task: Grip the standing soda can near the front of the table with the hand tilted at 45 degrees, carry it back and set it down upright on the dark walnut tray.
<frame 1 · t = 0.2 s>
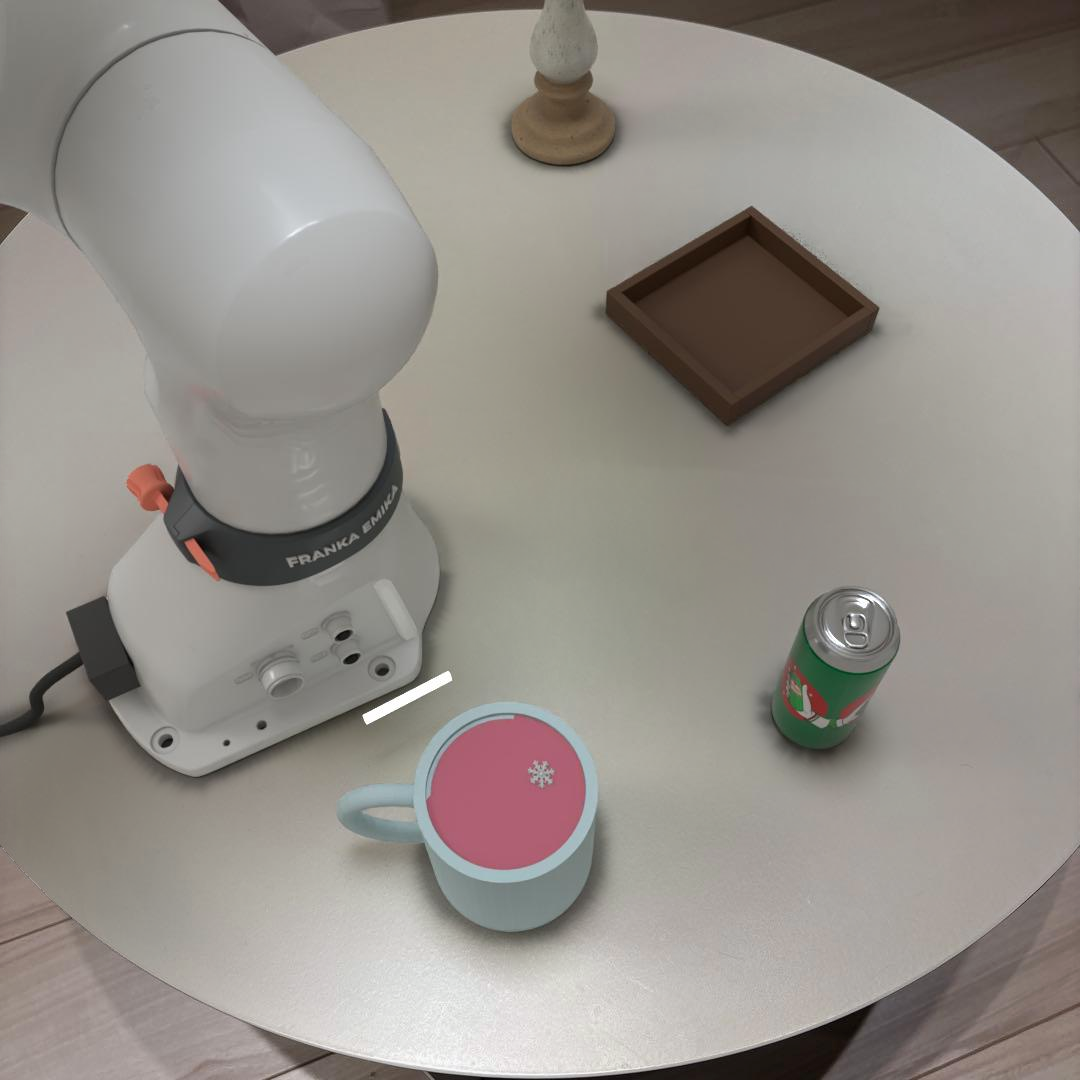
soda can: (811, 714, 69), on the table
candle holder: (563, 133, 97), on the table
mug: (472, 847, 65), on the table
tray: (737, 321, 86), on the table
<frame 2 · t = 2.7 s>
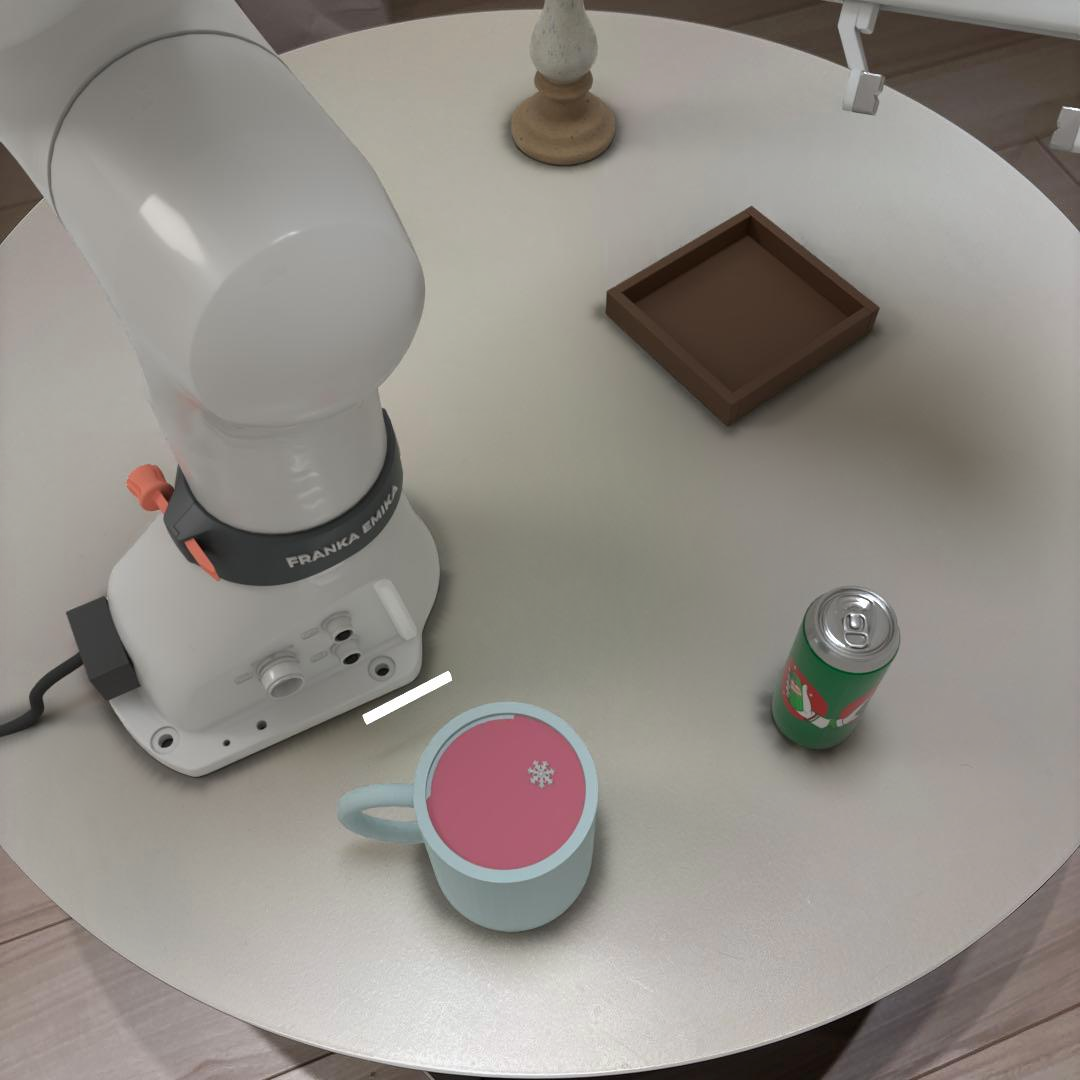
hand: (959, 131, 53), 29 cm above the table, tool tilted 35°, fingers open, 8 cm apart
nothing on the table moved.
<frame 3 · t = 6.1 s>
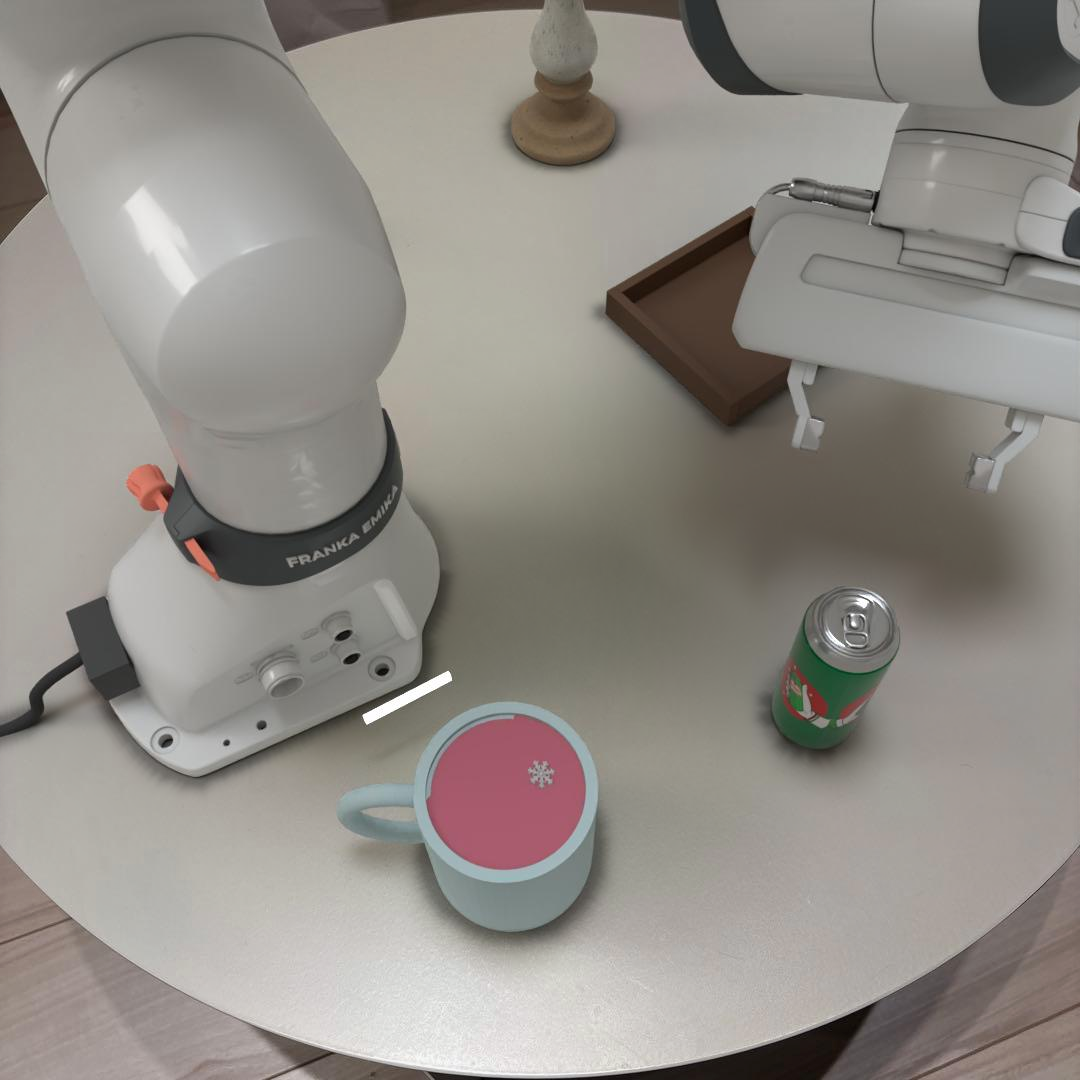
hand: (890, 469, 62), 14 cm above the table, tool tilted 45°, fingers open, 8 cm apart
nothing on the table moved.
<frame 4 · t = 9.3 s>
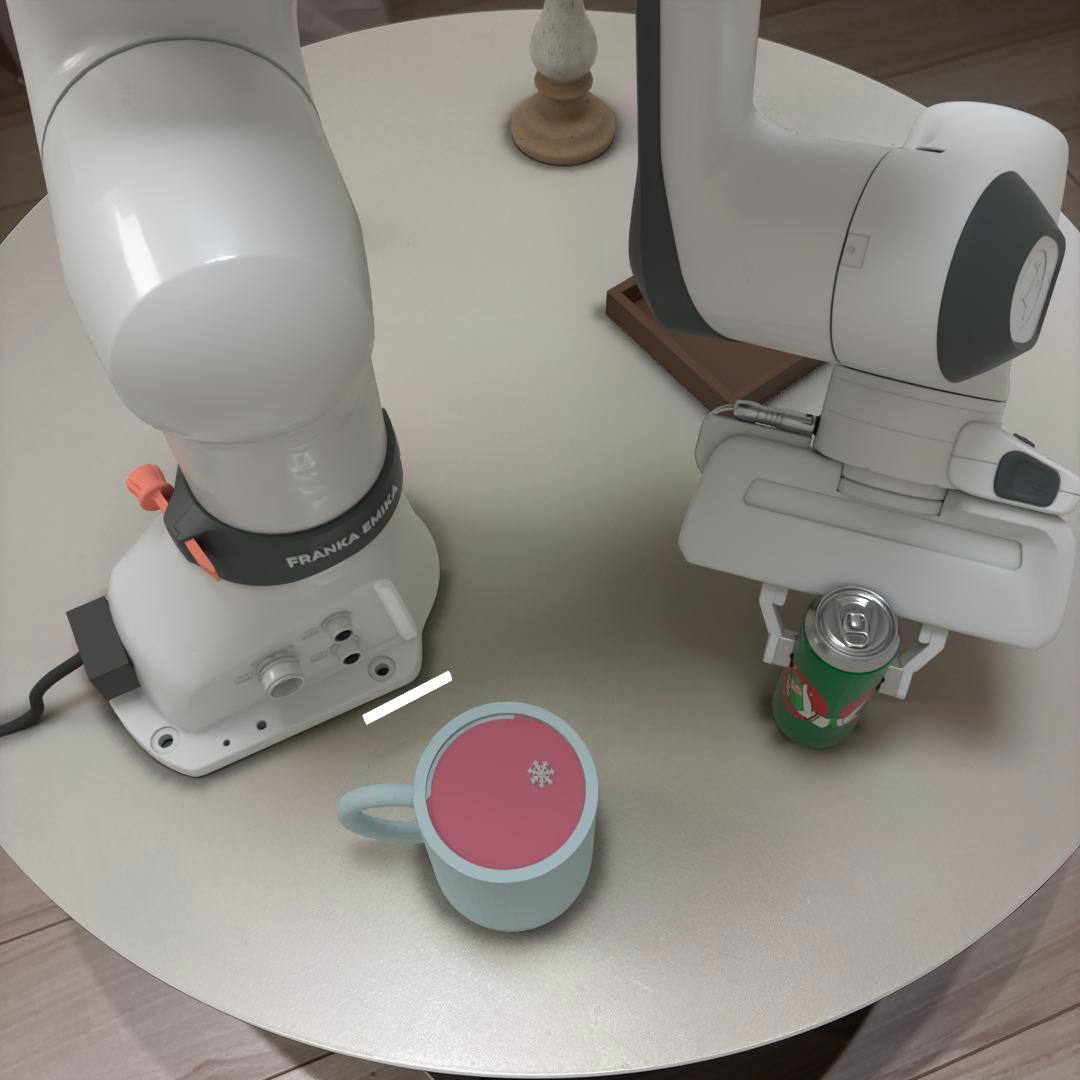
hand: (832, 677, 63), 6 cm above the table, tool tilted 45°, fingers closed on soda can, 5 cm apart
soda can: (811, 714, 69), on the table, touching gripper
everything else where it was.
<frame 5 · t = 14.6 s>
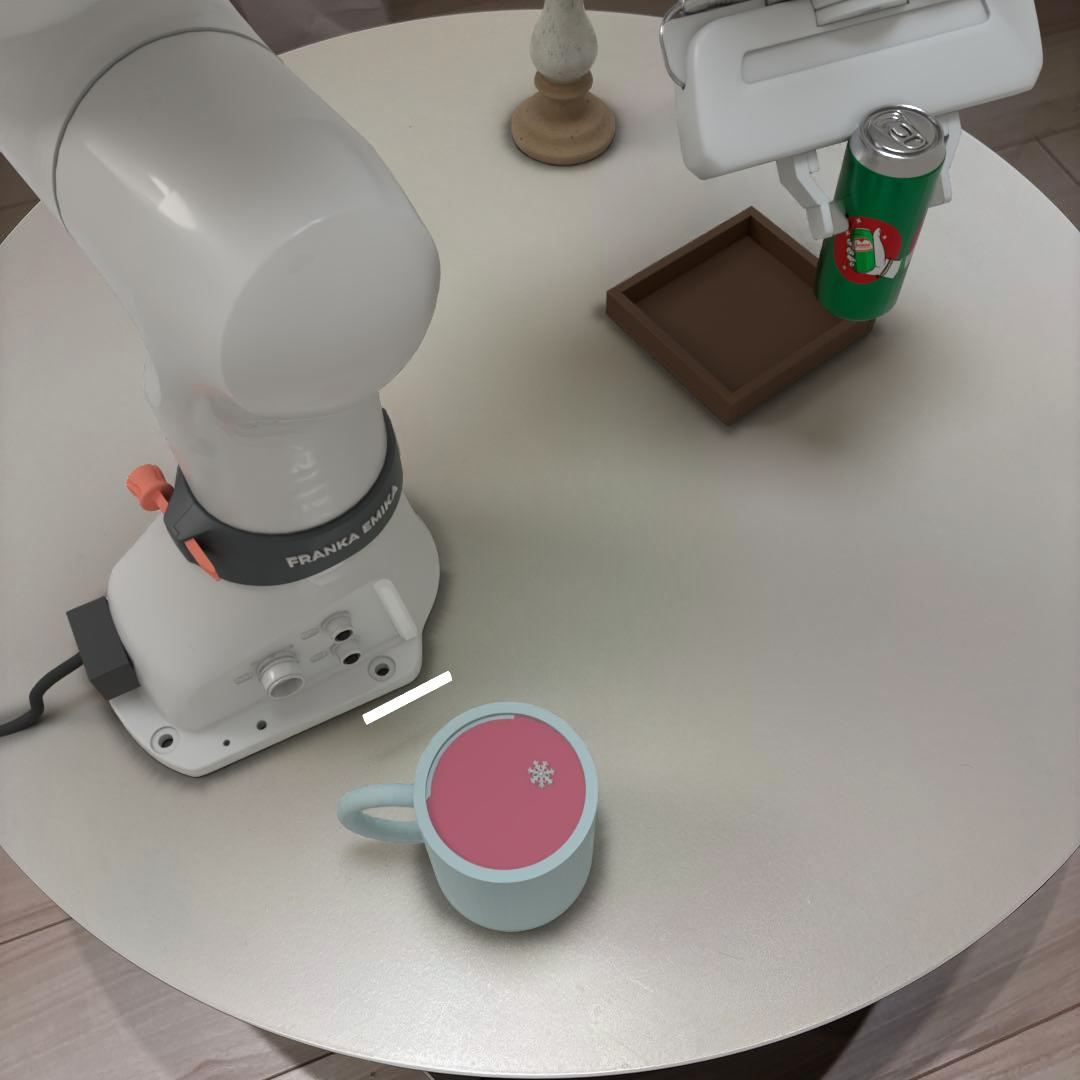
hand: (883, 221, 63), 20 cm above the table, tool tilted 45°, fingers closed on soda can, 5 cm apart
soda can: (852, 298, 69), point 13 cm above the table, touching gripper
everything else where it was.
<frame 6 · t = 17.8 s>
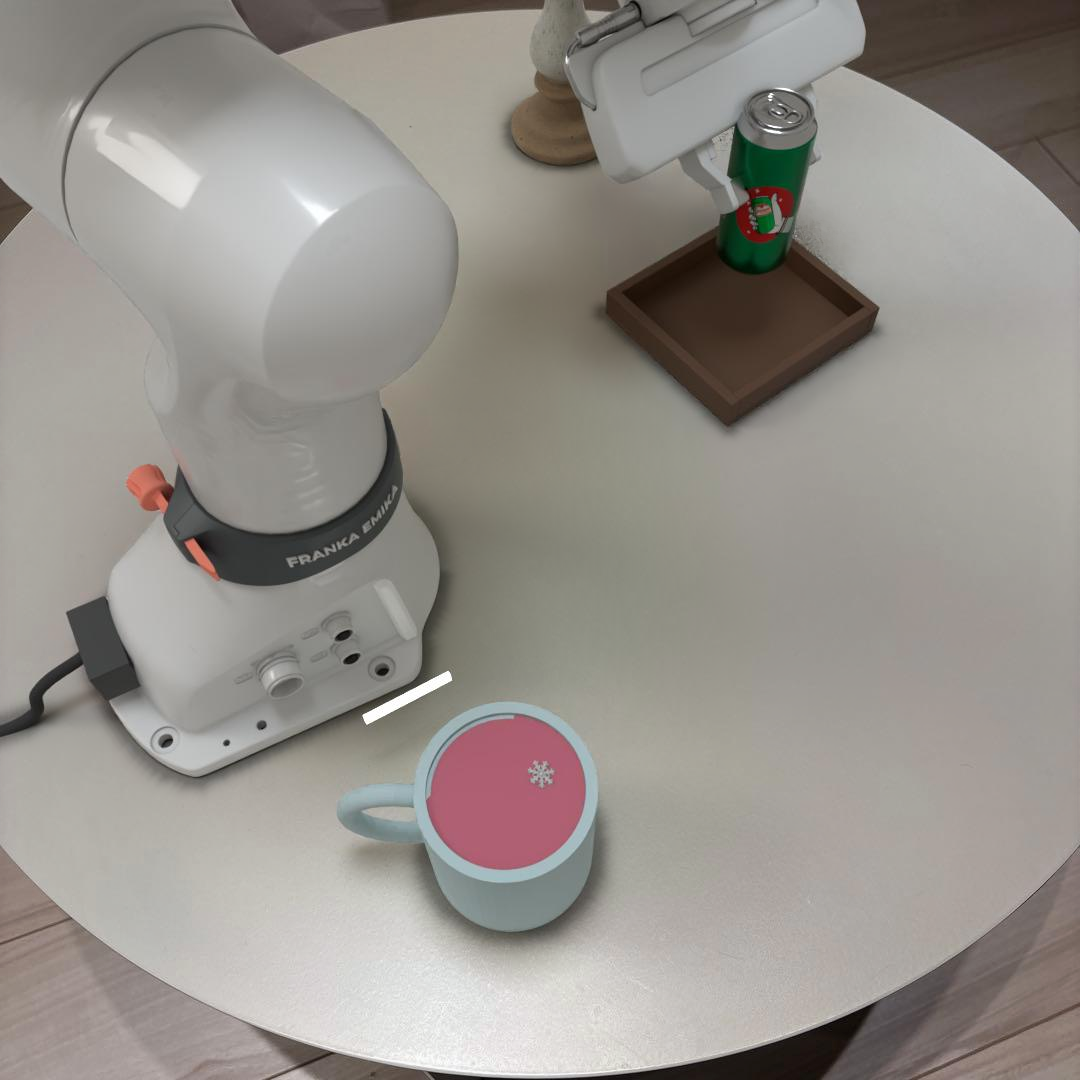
hand: (772, 186, 74), 13 cm above the table, tool tilted 45°, fingers closed on soda can, 5 cm apart
soda can: (750, 255, 80), point 7 cm above the table, touching gripper
everything else where it was.
when the fingers open (7 cm above the table, at t = 20.1 s): soda can stays where it is, resting on tray.
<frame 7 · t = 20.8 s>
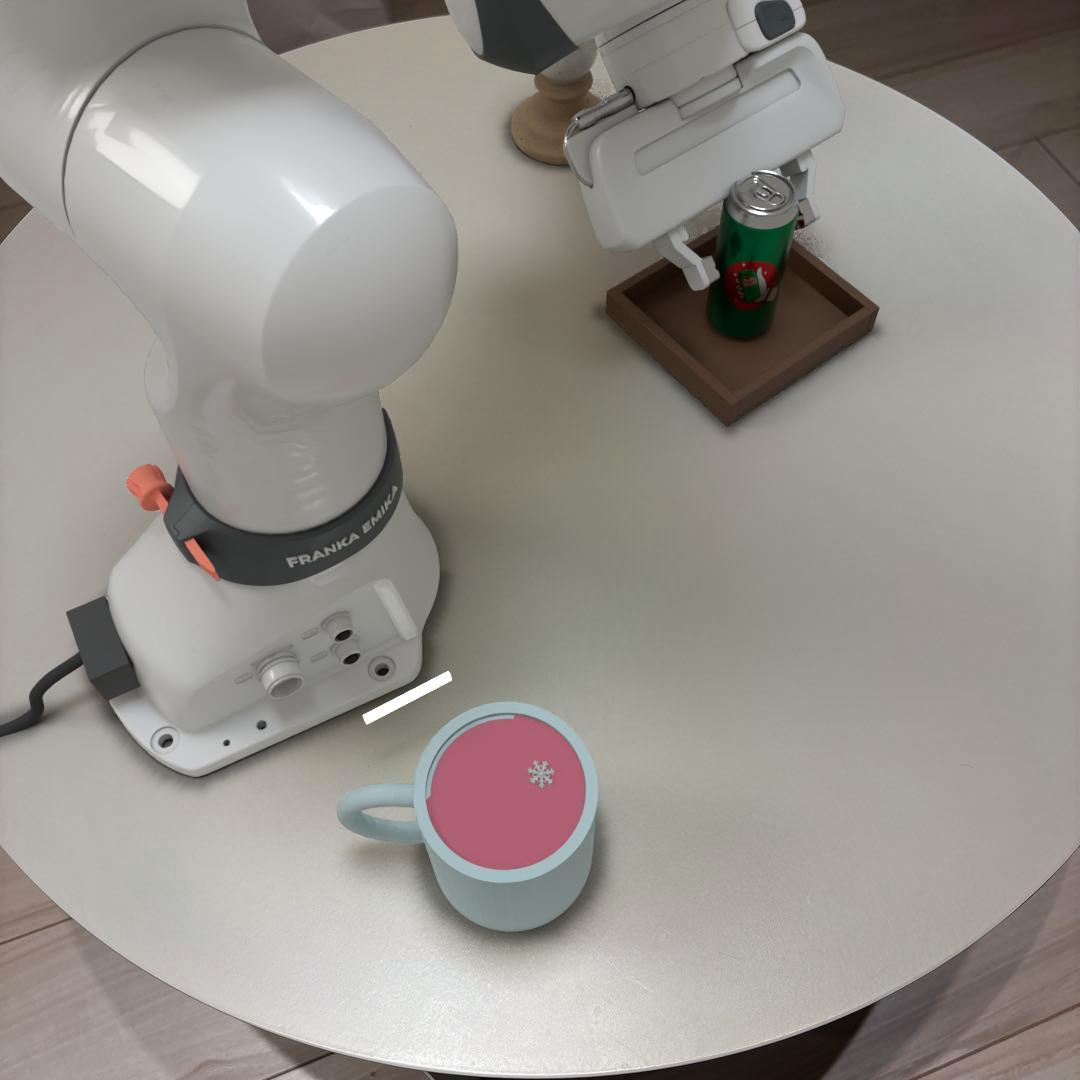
hand: (757, 254, 79), 7 cm above the table, tool tilted 45°, fingers open, 8 cm apart
soda can: (738, 319, 85), resting on tray
everything else where it was.
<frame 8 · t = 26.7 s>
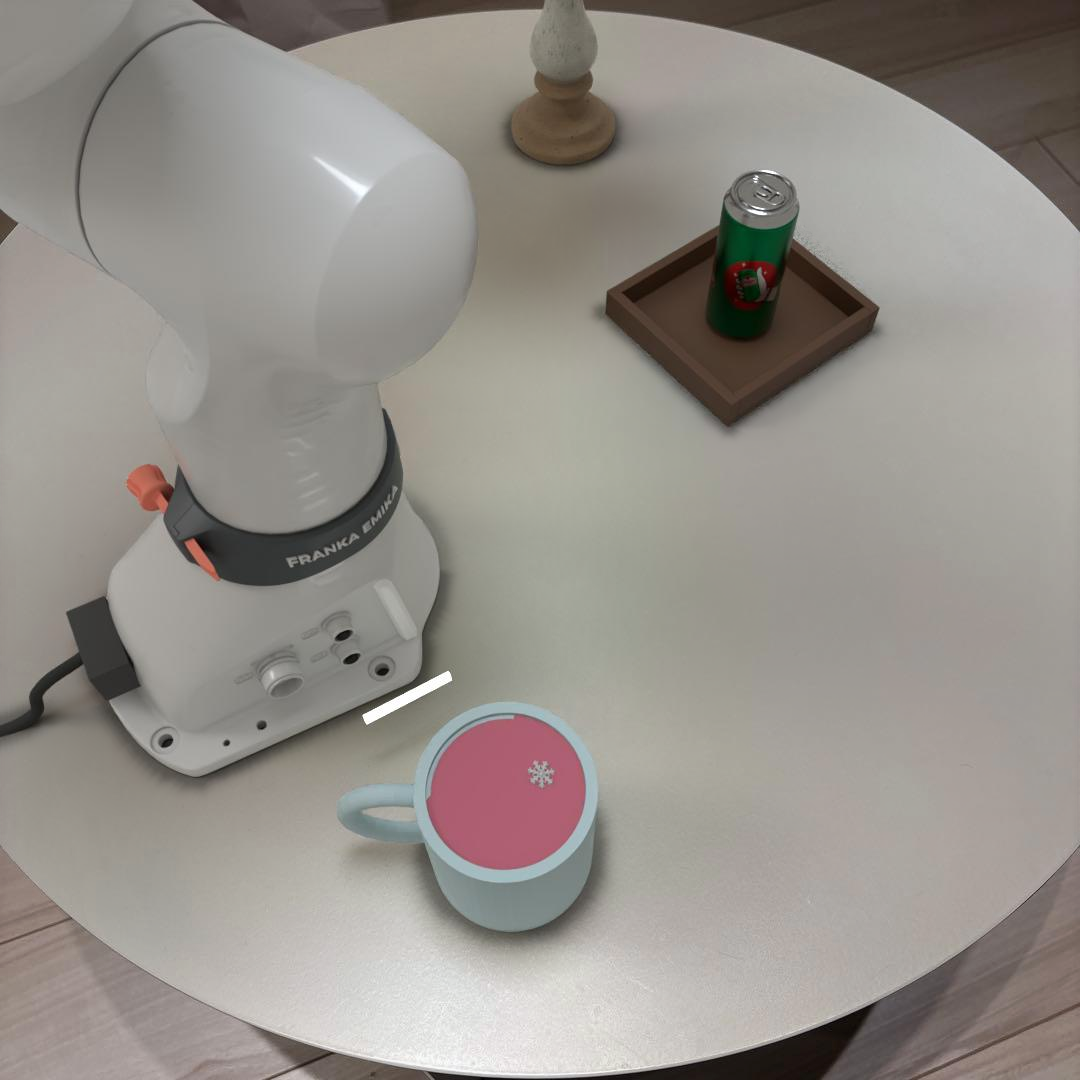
nothing on the table moved.
at the end: soda can inside the target area in the tray (0.0 cm from its centre), point 0.2 cm above the tray's base; soda can tilted 0°; the gripper is holding nothing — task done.
